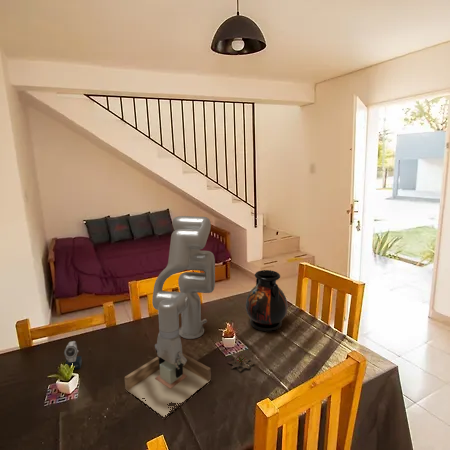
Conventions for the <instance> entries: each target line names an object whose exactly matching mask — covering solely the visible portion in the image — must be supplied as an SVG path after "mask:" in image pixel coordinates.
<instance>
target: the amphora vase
mask: <svg viewBox="0 0 450 450" xmlns="http://www.w3.org/2000/svg"><path fill="white" fill-rule="evenodd" d="M254 277H255V279H256V281H255V286H254V287H252V289H251V290H250V291H249V292H248V295H247V297H246V301H245V312H246V314H247V316H248V317H249V318H250V321H249V322H250V325H251V327H253V328H254V329H256V330H258V331H261V330H262V332H273V331H272V330H275V331H277V330H279V329H280V328H281V327H282V324H283V320H284V319H285V317H286V316H287V313H288V307H289V306H288V299H287V297H286V295H285V293H284V291H283V290H282V289H281V288H280V287H279V285H278V284H277V281H279V280H280V278H281V274H280V273H279V272H278V271H274V270H271V269H270V270H269V269H263V270H262V269H261V270H258V271H256V272H255V274H254ZM280 326H281V327H280ZM279 327H280V328H279ZM278 328H279V329H278ZM276 329H277V330H276Z"/></svg>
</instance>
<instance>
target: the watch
mask: <svg viewBox="0 0 450 450" xmlns="http://www.w3.org/2000/svg"><path fill="white" fill-rule="evenodd" d="M78 353H79V350H78V345H77V342H76V341H75V340H73V341H69V342H68V343H67V345H66V347H65V349H64V352H63V354H64V357H65V359H66V361H65V364H68V365H69V366H71V365H72V363H73V365H74V366H75V370H79V369H81V368H82V363H83V360H82V355H80V356H79V355H78ZM77 355H78V356H77ZM65 364H64V365H65Z"/></svg>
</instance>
